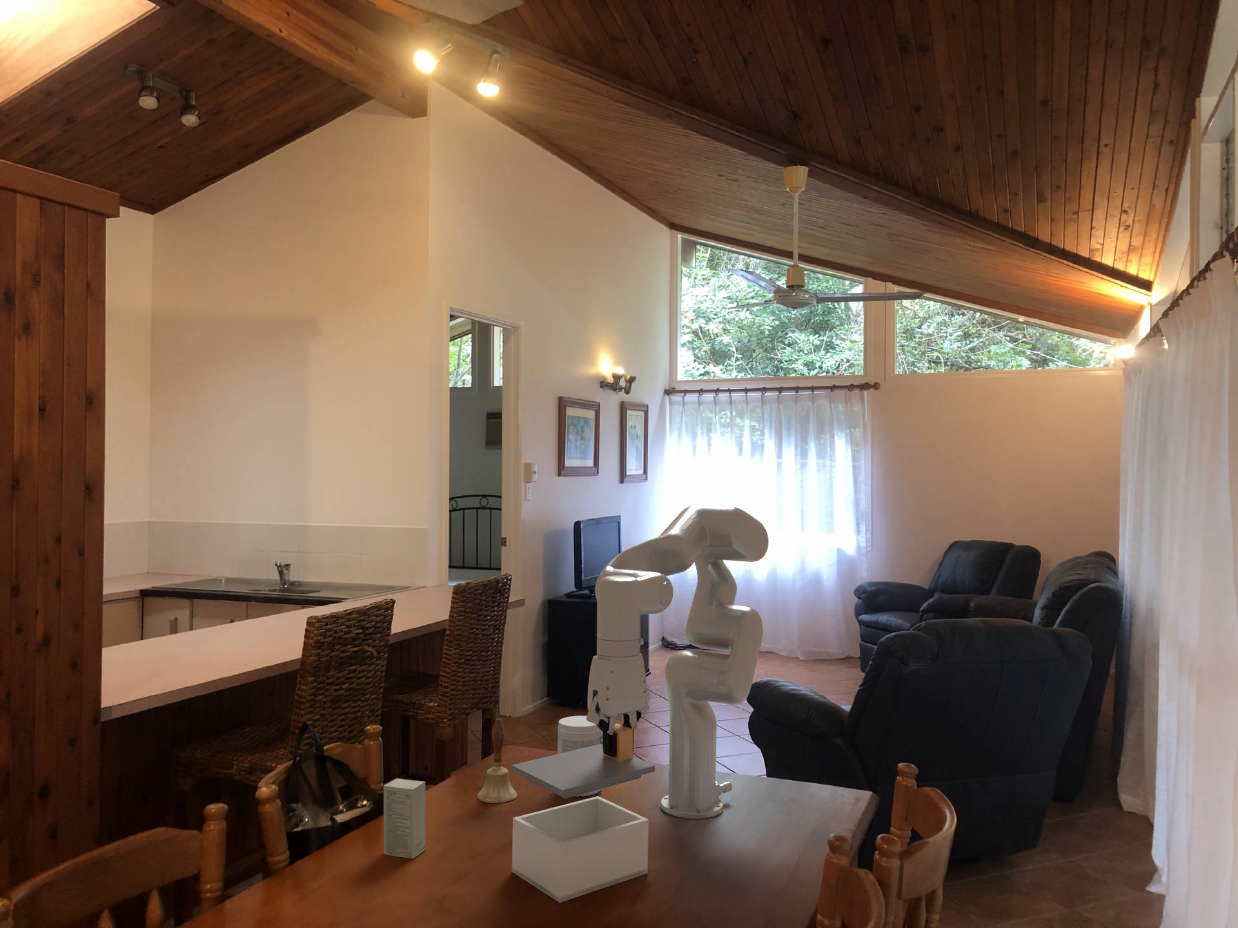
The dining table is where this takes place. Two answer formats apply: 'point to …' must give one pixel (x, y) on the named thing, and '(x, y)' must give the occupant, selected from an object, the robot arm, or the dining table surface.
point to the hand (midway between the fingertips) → (618, 751)
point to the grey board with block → (586, 767)
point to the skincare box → (404, 818)
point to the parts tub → (579, 847)
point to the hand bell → (497, 772)
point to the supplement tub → (578, 736)
